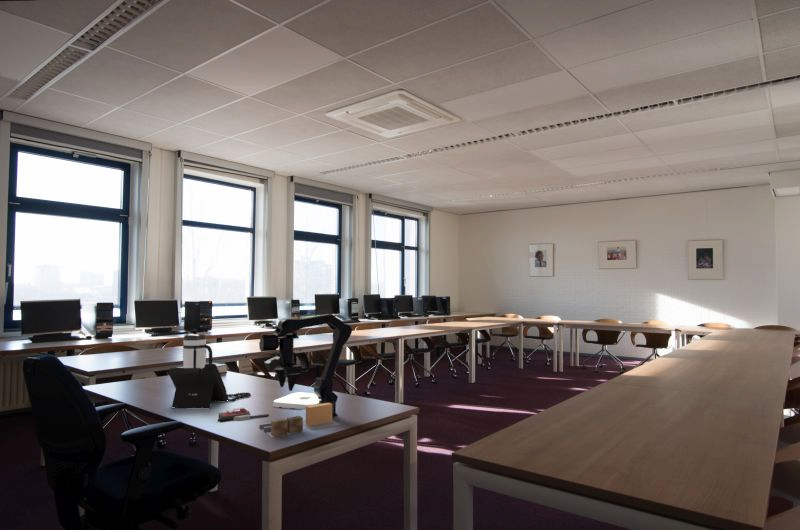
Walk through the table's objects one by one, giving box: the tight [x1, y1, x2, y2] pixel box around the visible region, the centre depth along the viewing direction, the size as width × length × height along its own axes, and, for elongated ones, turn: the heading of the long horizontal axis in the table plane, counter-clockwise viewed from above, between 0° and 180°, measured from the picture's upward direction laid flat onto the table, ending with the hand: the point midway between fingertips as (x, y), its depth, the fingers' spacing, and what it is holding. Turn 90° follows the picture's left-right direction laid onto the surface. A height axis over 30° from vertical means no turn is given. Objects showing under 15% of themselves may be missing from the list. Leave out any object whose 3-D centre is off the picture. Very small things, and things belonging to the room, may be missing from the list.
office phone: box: [168, 362, 252, 409], centre depth 234 cm, size 29×28×20 cm
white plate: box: [272, 391, 320, 410], centre depth 229 cm, size 22×22×3 cm
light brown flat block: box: [305, 403, 333, 426], centre depth 193 cm, size 10×3×7 cm, turn 124°
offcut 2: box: [286, 415, 304, 434], centre depth 182 cm, size 5×3×5 cm, turn 125°
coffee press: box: [182, 328, 213, 369], centre depth 285 cm, size 17×16×30 cm
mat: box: [303, 419, 341, 431], centre depth 193 cm, size 12×13×1 cm
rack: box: [258, 422, 306, 438], centre depth 185 cm, size 13×15×2 cm
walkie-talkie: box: [217, 407, 270, 423], centre depth 202 cm, size 9×4×20 cm
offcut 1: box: [270, 417, 288, 437], centre depth 179 cm, size 5×3×5 cm, turn 125°
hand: (286, 388), depth 198 cm, fingers open, 9 cm apart
